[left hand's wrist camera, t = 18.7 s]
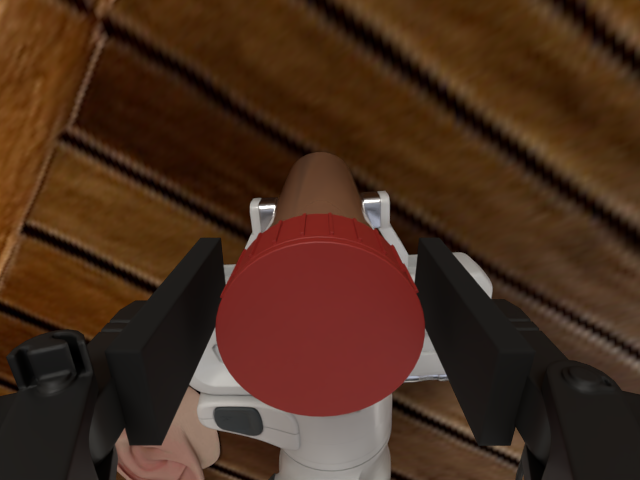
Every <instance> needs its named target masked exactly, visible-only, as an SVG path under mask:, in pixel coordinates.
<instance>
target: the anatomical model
mask: <svg viewBox="0 0 640 480" xmlns="http://www.w3.org/2000/svg"><path fill="white" fill-rule="evenodd" d="M199 397H200V394H199V393H197V392H196V391H195V390H194V389H192V388H191V387H189V386H188V388H187V391H186V393H185V395H184V397H183V399H182V402H181V404H180V406H179V408H178V410H177V413H176V415H175V417H174V419H173V421H172V424H171V426H170V428H169V430H168V432H167V435H166V437H165V439H164V441H163V443H162V446H129V442H128V438H127V434H126V431H125V428H124V430H123V432H122V433H121V435H120V437H119V438H118V440H117V442H116V443H115V446H116V449H117V454H118V465H117V471H118V472H119V473H120V474H121V475H122V476H123V477H124V478H125V479H127V480H204V474H203V470H202V469H204V468H206V467H209V466H211V465H212V464H214V463H215V462H216V461H217V459H218V457H219V455H220V443H219V438H218V433H217V430H214V429H210V428H207V427H205V426H204V425H202V424H201V423H200V421H199V419H198V415H197V406H198V402H199Z"/></svg>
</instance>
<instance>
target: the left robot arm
mask: <svg viewBox="0 0 640 480" xmlns="http://www.w3.org/2000/svg"><path fill="white" fill-rule="evenodd" d="M414 283H415V285H416V287H417V289H418V291H419V292H418V293H416V294H417V296H418V298H419V300H420V303H421V306H422V309H423V313H424V320H425V329H426V331H427V334H428V336H429V338H430V340H431V342H432V345H433V347H434V349H435V351H436V353H437V355H438V358H439V360H440V362H441V364H442V366H443V369H444V371H445V373H446V375H447V377H448V380H449V382H450V384H451V386H452V388H453V391H454V393H455V395H456V397H457V399H458V402H459V404H460V406H461V408H462V410H463V413H464V415H465V417H466V419H467V421H468V424H469V426H470V428H471V430H472V432H473V435H474V437H475V439H476V441H477V443H478V446H511V442H512V438H513V434H514V431H515V427H516V428H517V430H518V431H519V433H520V435H521V436H522V438H523V440H524V441H525V446H524V449H523V453H522V456H521V460H520V463H519V466H518V470H517V473H516V480H522V477H523V475H524V480H640V395H639V394H635V393H630V392H625V391H622V390H621V389H620V388H619V386H618V385H617V384H616V382H615V381H614V380H613V379H611V378H610V377H609V376H607V375H606V374H605V373H603V372H602V371H600V370H598V369H596V368H594V367H592V366H590V365H587V364H584V363H581V362H577V361H572V360H568V359H567V358H566V357H565V355H564V354H563V353H562V352H561V351H560V350H559V349H558V348H557V347H556V346H555V345H554V344H553V343H552V342H551V341H550V340H549V339H548V338H547V336H546V335H545V334H544V333H543V332H542V331H539V328H538V327H537V326H536V325H535V324H534V323H533V322H531V321H530V319H529V317H528V316H527V315H526V314H525V313H524V312H523V311H522V310H521V309H520V308H518V307H517V306H515V305H513V304H512V303H510V302H508V301H506V300H505V299H491V298H490V297H489V296H488V295H487V293H486V292H485V291H484V290H483V289H482V288H481V286H480V285H479V284H478V283H477V282H476V280H475V279H474V278H473V277H472V276H471V275H470V273H469V272H468V271H467V270H466V269H465V268H464V266H463V265H462V264H461V263H460V262H459V260H458V259H457V258H456V257H455V256H454V255H453V253H452V252H451V251H450V250H449V249H448V247H447V246H446V245H445V244H444V243H443V242H442V240H441V239H440V238H419V245H418V254H417V264H416V273H415V282H414ZM225 286H226V282H225V273H224V264H223V254H222V245H221V238H200V239H199V240H198V242H197V243H196V244H195V245H194V246H193V247H192V249H191V250H190V251H189V252H188V253H187V255H186V256H185V257H184V258H183V259H182V260H181V262H180V263H179V264H178V265H177V266H176V267H175V269H174V270H173V271H172V272H171V273H170V275H169V276H168V277H167V278H166V279H165V280H164V282H163V283H162V284H161V285H160V286H159V288H158V289H157V290H156V291H155V292H154V293H153V295H152V296H151V297H150V298H149V299H148V300H147V301H134V302H132V303H131V304H129V305H127V306H126V307H124V308H122V309H121V310H120V311H119V312H118V313H117V314H116V315H115V316H114V317H113V318H112V319H111V320H110V323H107V324H106V325H105V326H104V328H103V329H102V330H101V332H99V333H98V334H97V335H96V336H95V337H94V338H93V339H92V340H91V341H90V342H89V344H88V345H86V341H85V338H84V335H83V334H82V333H80V332H79V331H76V330H69V329H67V330H57V331H52V332H48V333H45V334H41V335H38V336H36V337H34V338H32V339H29V340H27V341H25V342H24V343H22V344H20V345H19V346H17V347H16V348H14V349H13V350H12V351H11V352H10V354H9V355H8V356H7V357H6V358H7V360H8V363H9V365H10V368H11V371H12V373H13V376H14V378H15V381H16V383H17V386H18V388H19V391H18V392H17V393H13V394H8V395H4V396H0V480H116V473H117V465H118V454H117V449H116V446H115V443H116V442H117V440H118V438H119V437H120V435H121V433H122V432H123V430H124V428H125V431H126V434H127V438H128V442H129V446H162V443H163V441H164V439H165V437H166V435H167V432H168V430H169V428H170V426H171V424H172V421H173V419H174V417H175V415H176V413H177V410H178V408H179V406H180V404H181V402H182V399H183V397H184V395H185V393H186V391H187V388H188V386H189V384H190V382H191V380H192V377H193V375H194V373H195V371H196V369H197V366H198V364H199V362H200V360H201V358H202V355H203V353H204V351H205V349H206V347H207V344H208V342H209V340H210V338H211V336H212V334H213V331H214V329H215V326H216V316H217V312H218V307H219V304H220V302H221V299H222V298H220V296H221V293H222V291H223V290H224V288H225Z"/></svg>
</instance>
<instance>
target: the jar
mask: <svg viewBox="0 0 640 480" xmlns="http://www.w3.org/2000/svg"><path fill="white" fill-rule="evenodd" d="M304 213H306V215H307V214H328V213H332V214H333V215H339V216H344V217H347V218H351V219H353V218H356V219H357V221H358V222H361V223H363V224H365V225H367V226H368V227H370V228H372V229H373V230H375V229H374V227H373V225H372V222H371V220H370V217H369V215H368V212H367V210H366V208H365V205H364V203H363V200H362V198H361V196H360V193H359V191H358V188H357V186H356V183H355V181H354V179H353V176H352V174H351V172H350V169H349V168H348V166H347V165H346V164H345V163H344V162H343V161H342V160H341V159H340V158H338V157H337V156H335V155H333V154H330V153H325V152H315V153H310V154H308V155H305V156H304V157H302V158H300V159H299V160H298V161H297V162H296V163H295V164H294V165H293V167H292V168H291V170H290V172H289V174H288V177H287V179H286V182H285V184H284V187H283V189H282V191H281V194H280V196H279V199H278V201H277V204H276V206H275V209H274V211H273V213H272V216H271V218H270V221H269V223H268V226H267V228H266V230H267V229H269V228H270V227H272V226H274V225H276V224H278V222H279V221H280V220H282V221H284V220H287V219H290V218H293V217H297V216H302V215H303V214H304ZM266 230H265V231H266Z"/></svg>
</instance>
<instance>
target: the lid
mask: <svg viewBox="0 0 640 480" xmlns="http://www.w3.org/2000/svg"><path fill="white" fill-rule="evenodd" d="M418 292H419V291H418V289H417V287H416V285H415V283H414V281H413V279H412V277H411V275H410V273H409V271H408V269H407V267H406V265H405V264H404V263H402V261H401V259H400V257H399V255H398V253H397V251H396V249H395V247H394V245H393V244H392V245H390V244H389V243H388V242H387V241H386V240H385V239H384V238H383V237H382V236H381V235H380V234H379V232H378V230H377V229H375V230H373V229H372V228H370V227H368V226H367V225H365V224H363V223H361V222H358V221H357V219H356V218H353V219H351V218H347V217H344V216H339V215H333V214H332V213H328V214H307V215H306V213H304V214H303V215H302V216H297V217H293V218H290V219H287V220H284V221H282V220H280V221H279V222H278V224H276V225H274V226H272V227H270V228H269V229H267V230H266V231H265V232H263V233H261V232H260V233H259V234H258V236H257V238H256V239H255V240H254V241H253V242H252V244H251V245H250V246H249V247H248V248H247V250H246V249H244V250H243V252H242V254H241V256H240V258H239V260H238V262H237V264H236V265H235V267H234V269H233V271H232V273H231V276H230V278H229V280H228V282H227V284H226V286H225V288H224V290H223V291H222V293H221V296H220V298H222V299H221V302H220V304H219V307H218V312H217V316H216V326H215V332H216V341H217V346H218V350H219V353H220V356H221V358H222V361H223V363H224V365H225V366H226V368H227V370H228V371H229V373H230V374H231V376H232V377H233V378H234V379H235V381H236V382H237V383H238V384H239V385H240V386H241V387H242V388H243V389H244V390H245V391H247V392H248V393H249V394H251V395H252V396H253V397H255V398H256V399H258V400H260V401H261V402H263V403H265V404H267V405H269V406H271V407H273V408H276V409H279V410H282V411H285V412H288V413H292V414H297V415H303V416H312V417H327V416H338V415H344V414H349V413H352V412H356V411H359V410H362V409H364V408H367V407H369V406H372V405H374V404H375V403H377V402H379V401H381V400H383V399H384V398H386V397H387V396H389V395H390V394H391V393H393V392H394V391H395V390H396V389H397V388H398V387H400V386H401V384H402V383H403V382H404V381H405V380H406V379H407V378H408V376H409V375H410V374H411V372H412V371H413V369H414V368H415V366H416V364H417V362H418V360H419V357H420V354H421V351H422V348H423V344H424V338H425V320H424V313H423V309H422V306H421V303H420V300H419V298H418V296H417V294H416V293H418Z"/></svg>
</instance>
